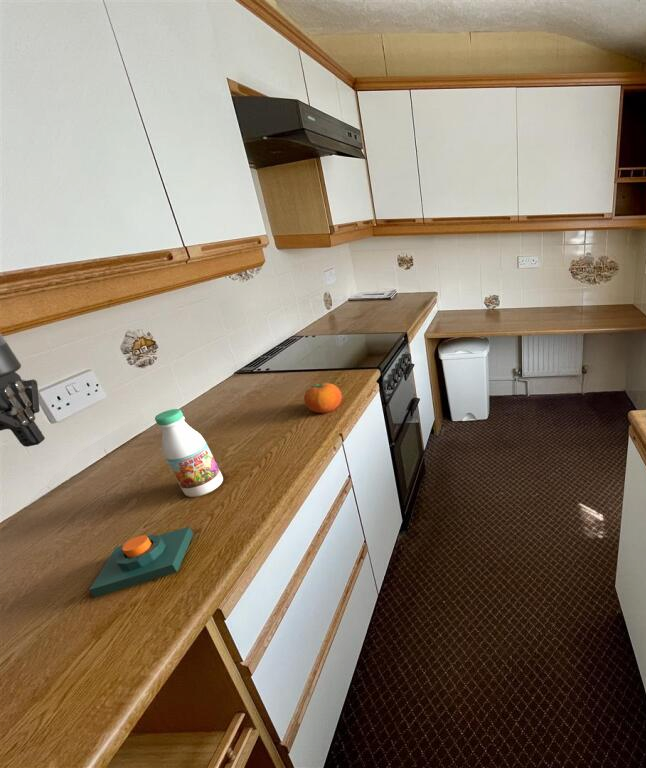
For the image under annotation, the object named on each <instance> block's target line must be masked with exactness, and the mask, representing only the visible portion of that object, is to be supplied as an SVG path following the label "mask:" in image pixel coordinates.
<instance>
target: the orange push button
mask: <svg viewBox="0 0 646 768" xmlns="http://www.w3.org/2000/svg"><path fill="white" fill-rule="evenodd" d="M147 536H148V535H138V536H135V537H133V538H131V539H129V540H128V541H126V542H125V543H124V544H123V545H124V546H123V547H122V550H123V551H124V553H125V554H126V556H127V557H128V558H133V557H136V556H139V555H141V554H142V553H144V552H146V551H147V550H148V549H149V548H151V546H152V543H151V542H150V540H149V539H148V537H147Z"/></svg>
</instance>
